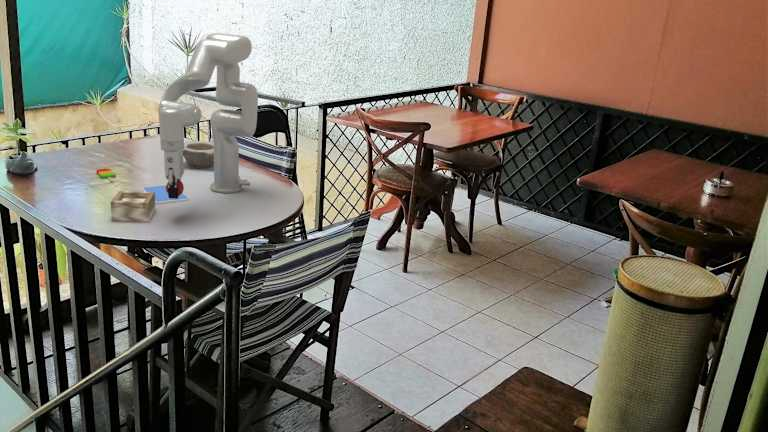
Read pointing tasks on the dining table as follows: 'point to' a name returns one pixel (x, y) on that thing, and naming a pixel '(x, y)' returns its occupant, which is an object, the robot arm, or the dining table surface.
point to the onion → (179, 185)
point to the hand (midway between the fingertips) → (175, 194)
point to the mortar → (199, 154)
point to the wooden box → (133, 206)
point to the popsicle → (106, 174)
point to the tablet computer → (164, 195)
